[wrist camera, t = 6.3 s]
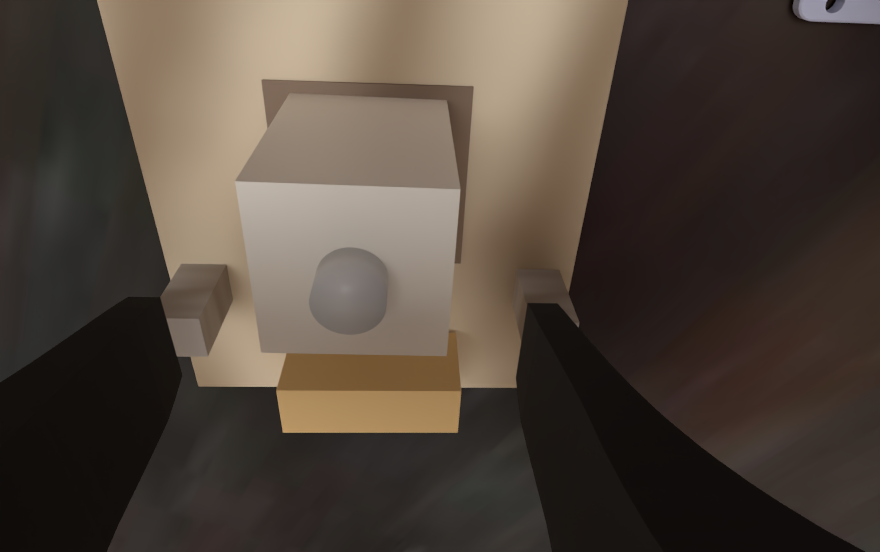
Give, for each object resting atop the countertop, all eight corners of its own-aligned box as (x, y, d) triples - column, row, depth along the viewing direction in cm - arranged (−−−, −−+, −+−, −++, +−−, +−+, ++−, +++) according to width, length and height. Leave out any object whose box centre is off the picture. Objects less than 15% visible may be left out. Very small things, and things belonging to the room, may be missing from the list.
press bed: (630, -71, 15) (688, -61, 12) (544, 371, 24) (565, 447, 21) (90, -97, 15) (-4, -94, 11) (205, 368, 24) (171, 447, 20)
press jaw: (455, 332, 21) (461, 391, 19) (453, 372, 23) (457, 432, 20) (292, 331, 21) (275, 390, 19) (297, 371, 22) (282, 432, 20)
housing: (446, 100, 17) (463, 212, 11) (438, 235, 19) (448, 384, 13) (289, 93, 16) (221, 203, 11) (301, 230, 19) (251, 381, 13)
